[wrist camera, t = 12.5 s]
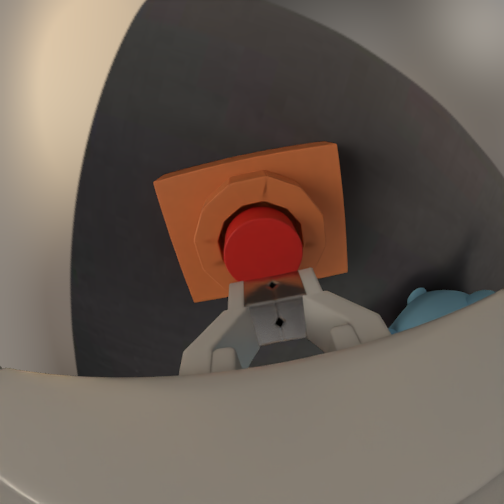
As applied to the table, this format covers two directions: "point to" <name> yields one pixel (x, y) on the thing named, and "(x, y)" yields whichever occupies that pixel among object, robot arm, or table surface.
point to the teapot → (433, 306)
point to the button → (261, 244)
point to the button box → (255, 195)
